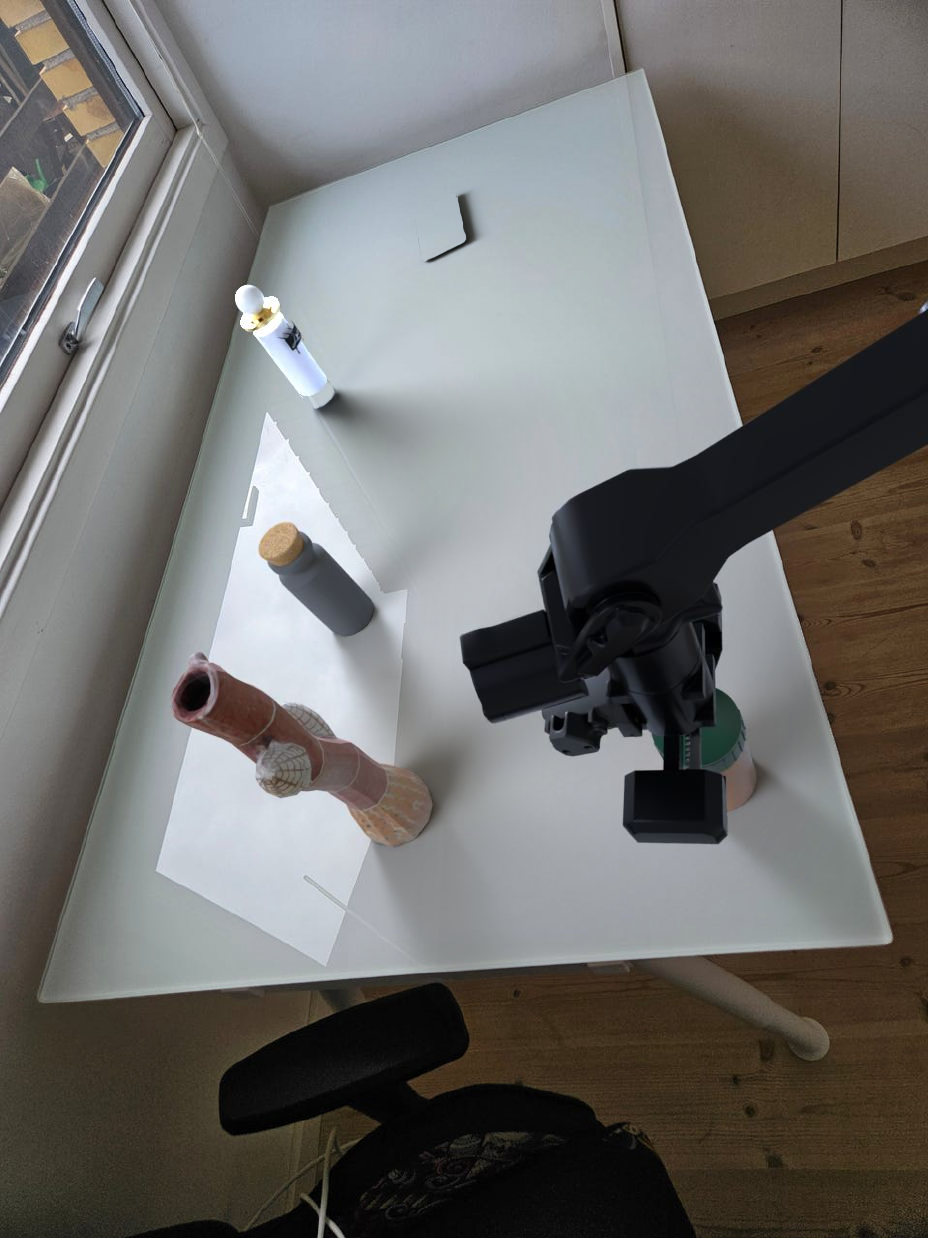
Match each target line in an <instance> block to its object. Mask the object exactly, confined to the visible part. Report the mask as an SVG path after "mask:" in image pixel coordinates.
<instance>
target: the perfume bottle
mask: <svg viewBox="0 0 928 1238" xmlns="http://www.w3.org/2000/svg"><path fill="white" fill-rule="evenodd" d="M235 293H236V294H235V304H236V307H237V308H238V309H239V311H240V312H241V313H242V314H243V315H242V317H241V320H240V325H241V327H242V328H243V329H244V331H246V332H248V333H252V332H253V335H254V337H256V339H257V340H258V342H259V343H260V345H262V347H263V348H264V350H265V351H266V352H267V353H268V354H269V356H270V357H271V358H272V360H273V361H274V363H275V364H276V365H277V367H278V368H279V369H280V370H281V372H282V373H283V374H284V376H285V377H286V379H288V380H289V382H290V383H291V385H292V386H293V387H294V389H295V390H296V391H297V392H298V394H299V395H300V394H301V395H303V396H311V395H314V394H315V393H317V392H319V391H320V390H321V389H322V388H323V387H324V385H325V384H326V382H327V378H328V377H327V375H326V374H325V373H324V371H323V369H321V367H320V366H319V364H318V363H317V361H316V360H315V358H314V357H313V355H312V354H311V353H310V351H309V350H308V349H307V347H306V346H305V344H304V343H303V342H305V339H304V338H303V335H302V333H301V332H300V330H299V329H298V326H297V325H296V324H295V323H294V322H293V320H290V322H291V324H292V326H293V327H292V326H291V325H290V324H289V322H288V321H287V320H286V318H285V317H284V315H283V314H282V313H281V312H280V311H281V304H280V301H278V298H276V297H274V296H269V297H265V296H264V294H263V292H262V291H261V289H259V288H258V287H257V286H255V285H251V284H246V285H243V286H240V287H239V288H238V290H237V291H236V292H235ZM302 341H303V342H302ZM326 377H327V378H326ZM301 395H300V396H301Z"/></svg>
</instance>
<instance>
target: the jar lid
mask: <svg viewBox="0 0 928 1238" xmlns="http://www.w3.org/2000/svg"><path fill="white" fill-rule="evenodd" d="M746 730H747V727H746V725H745V722H744V718H743V716H742V712H741V710H740V709H739V707H738V706H737V703H735V701H734V700H733V699H732V697H731V696H730V695H729V694H727V693H726V692H725V691H723V690H721V689H720V688H717V687H716V727H706V728H701V732H702V769H706V770H709V771H713V772H716V773H720V772H722V771H724V770H726V769H729V767H730V766H731V765H732V764H733V763H734V762H735V761H737V759H738V757H739V756H740V754H741V752H743V747H744V743H745V741H746V742H747V738H746ZM650 734H651V738H652V740H653V745H654V747H655V749H656V750H657V752H658V753H659V756H660V757H661V759H662V760H663V751H664V736H659V735H656V734H653V733H651V732H650ZM686 735H687V734H686ZM685 740H688V739H686V737H685V735H683V769H687V768H689V767H686V766H685V763H687V762H688V761H686V760H685V757H688V756H687V755H686V754H685V752H686V751H689V750H686V748H685V746H687V745H688V744H686V743H685Z"/></svg>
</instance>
